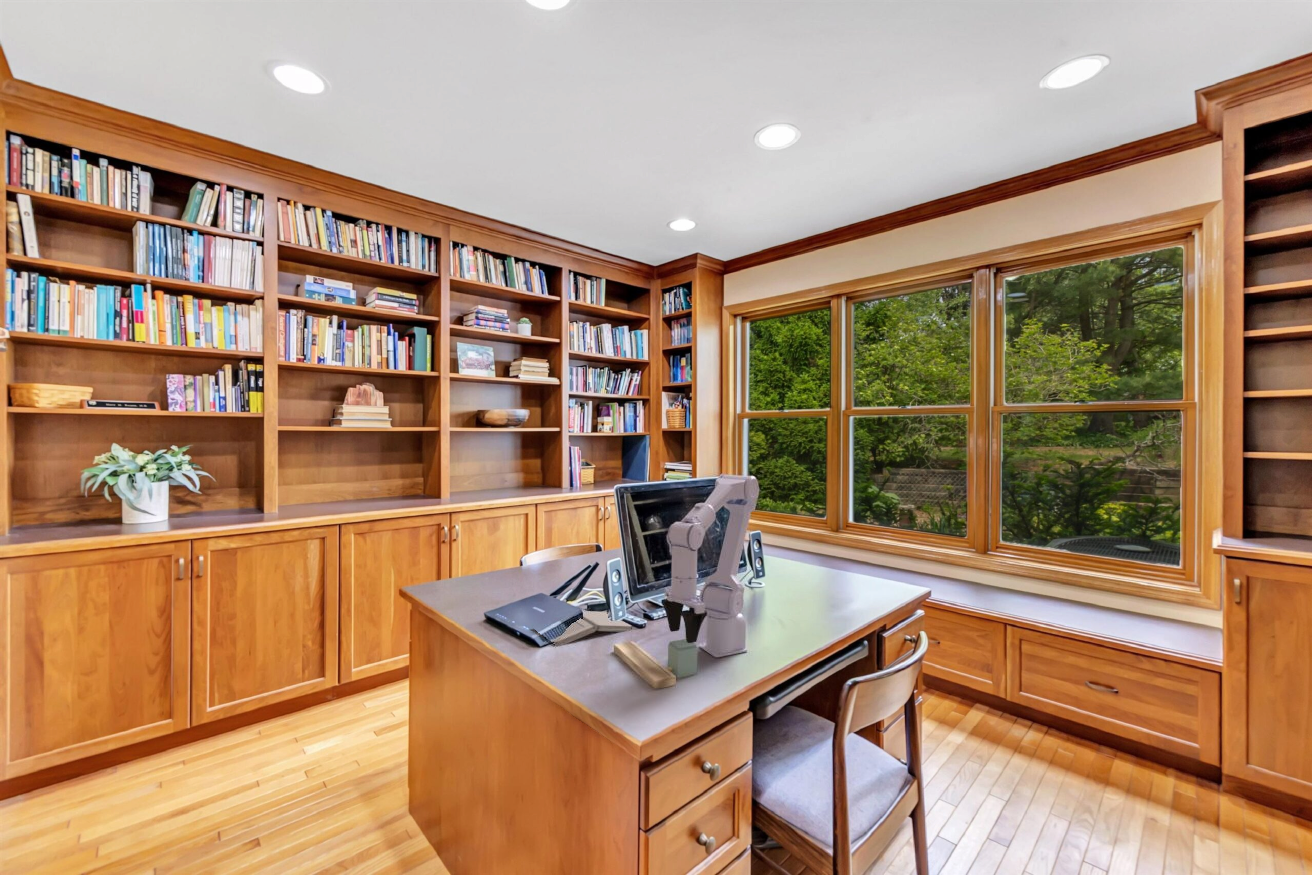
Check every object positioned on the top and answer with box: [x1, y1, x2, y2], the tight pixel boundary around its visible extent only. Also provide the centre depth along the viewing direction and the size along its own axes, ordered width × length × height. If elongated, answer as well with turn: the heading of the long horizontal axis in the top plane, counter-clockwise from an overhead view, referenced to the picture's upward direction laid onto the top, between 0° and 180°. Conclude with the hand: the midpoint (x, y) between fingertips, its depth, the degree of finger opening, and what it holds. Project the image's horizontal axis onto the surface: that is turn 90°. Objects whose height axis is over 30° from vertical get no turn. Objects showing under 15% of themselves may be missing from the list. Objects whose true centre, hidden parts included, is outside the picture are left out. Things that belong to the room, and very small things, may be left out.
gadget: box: [554, 610, 633, 647], centre depth 150 cm, size 23×15×4 cm, turn 125°
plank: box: [613, 640, 677, 690], centre depth 126 cm, size 5×22×2 cm, turn 27°
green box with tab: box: [666, 638, 699, 679], centre depth 124 cm, size 6×4×6 cm
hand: (682, 636), depth 124 cm, fingers open, 7 cm apart
